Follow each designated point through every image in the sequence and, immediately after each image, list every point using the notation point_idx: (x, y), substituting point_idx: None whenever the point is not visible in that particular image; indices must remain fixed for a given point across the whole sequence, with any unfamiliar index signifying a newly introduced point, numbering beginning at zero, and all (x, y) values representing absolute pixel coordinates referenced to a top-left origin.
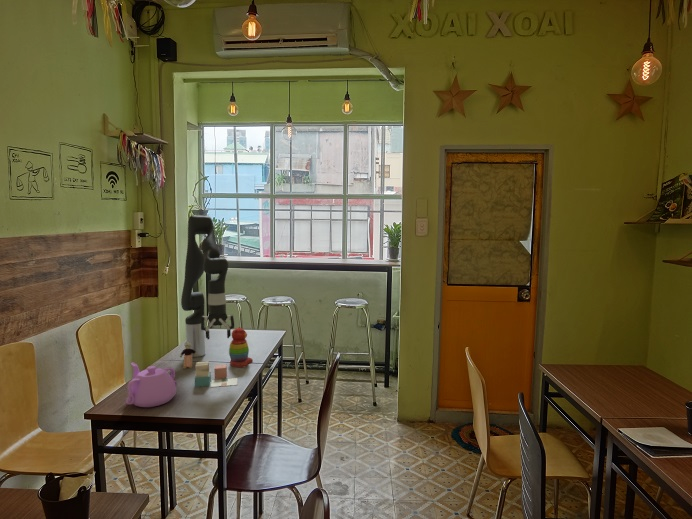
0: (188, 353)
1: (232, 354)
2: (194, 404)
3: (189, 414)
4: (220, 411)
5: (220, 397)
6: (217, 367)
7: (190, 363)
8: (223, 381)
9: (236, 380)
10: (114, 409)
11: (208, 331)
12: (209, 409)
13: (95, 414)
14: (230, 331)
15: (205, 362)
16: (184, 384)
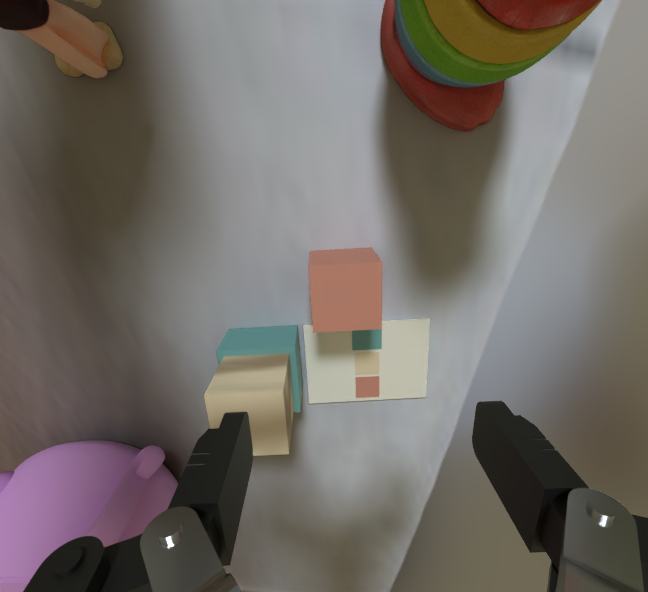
0: (17, 21)
1: (426, 67)
2: (278, 531)
3: (280, 584)
4: (371, 579)
5: (362, 494)
6: (329, 315)
7: (93, 50)
8: (362, 352)
9: (423, 348)
10: None
11: (224, 562)
12: (335, 565)
13: None
14: (569, 474)
15: (264, 408)
16: (177, 350)
